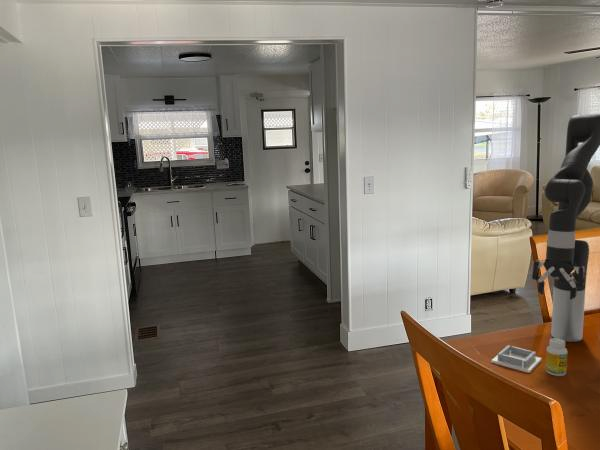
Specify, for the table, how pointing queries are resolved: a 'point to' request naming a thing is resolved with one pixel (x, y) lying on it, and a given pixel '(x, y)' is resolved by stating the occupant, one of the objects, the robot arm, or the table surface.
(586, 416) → the table surface
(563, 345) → the supplement bottle
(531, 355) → the caddy
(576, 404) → the table surface
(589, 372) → the table surface
